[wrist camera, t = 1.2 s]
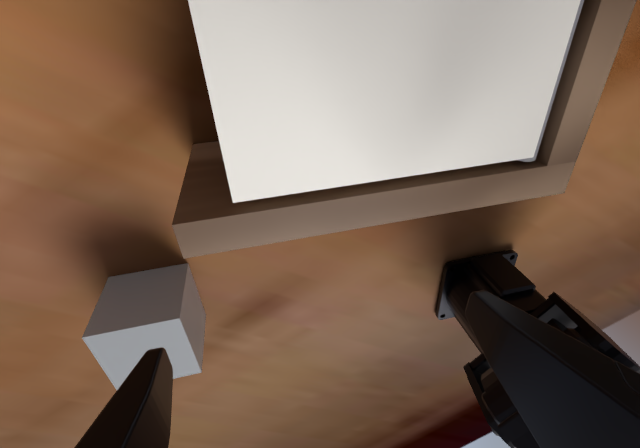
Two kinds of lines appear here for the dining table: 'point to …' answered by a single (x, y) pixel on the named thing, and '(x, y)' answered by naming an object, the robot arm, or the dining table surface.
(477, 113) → the trapdoor
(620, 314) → the dining table surface
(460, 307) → the robot arm
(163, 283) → the grey cube
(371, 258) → the dining table surface
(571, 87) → the trapdoor frame
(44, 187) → the dining table surface
